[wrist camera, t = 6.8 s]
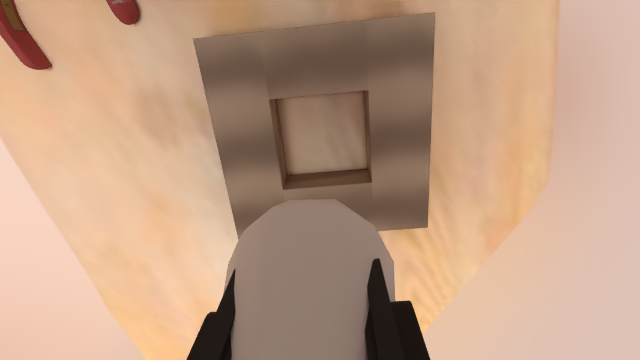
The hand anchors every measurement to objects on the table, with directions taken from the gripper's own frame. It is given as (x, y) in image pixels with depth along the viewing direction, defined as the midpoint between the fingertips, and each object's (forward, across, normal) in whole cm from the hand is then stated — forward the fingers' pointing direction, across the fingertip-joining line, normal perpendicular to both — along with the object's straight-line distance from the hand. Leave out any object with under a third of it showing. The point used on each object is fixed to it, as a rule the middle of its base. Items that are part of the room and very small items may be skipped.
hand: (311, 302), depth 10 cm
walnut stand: (+22, 0, 0) cm, 22 cm away
